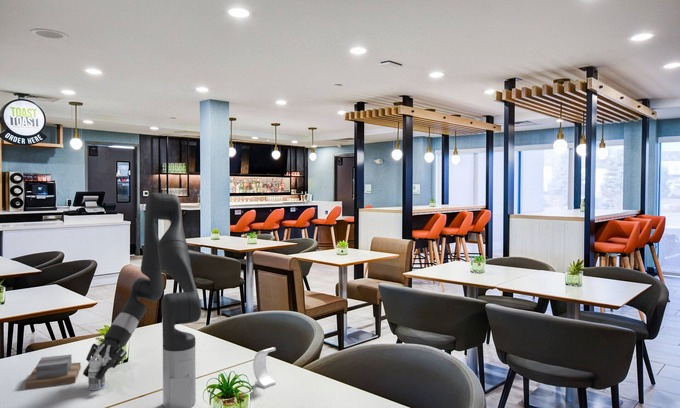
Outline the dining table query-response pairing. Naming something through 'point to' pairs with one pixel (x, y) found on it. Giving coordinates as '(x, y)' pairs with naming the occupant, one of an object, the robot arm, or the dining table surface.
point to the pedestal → (53, 372)
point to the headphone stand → (262, 369)
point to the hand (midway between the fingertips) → (91, 376)
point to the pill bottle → (92, 380)
